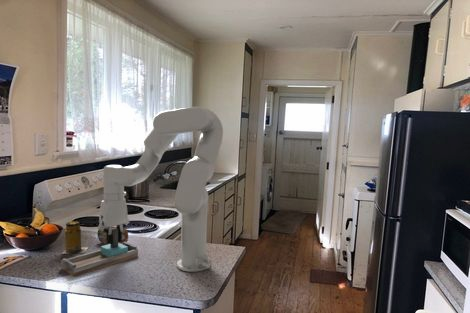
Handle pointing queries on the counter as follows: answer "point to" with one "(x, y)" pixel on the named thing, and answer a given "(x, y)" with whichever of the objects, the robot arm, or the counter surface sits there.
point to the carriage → (114, 246)
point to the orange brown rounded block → (103, 238)
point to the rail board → (96, 261)
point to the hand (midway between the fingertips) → (114, 241)
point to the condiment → (73, 238)
